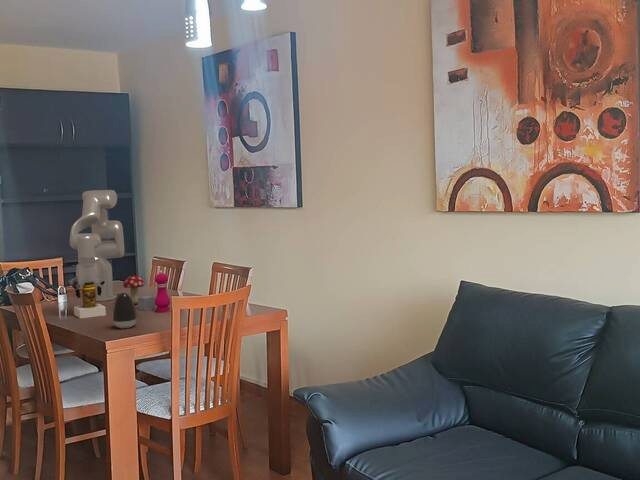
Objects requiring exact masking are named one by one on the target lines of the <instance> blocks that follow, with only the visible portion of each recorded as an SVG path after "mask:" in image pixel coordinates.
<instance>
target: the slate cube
mask: <svg viewBox="0 0 640 480" xmlns="http://www.w3.org/2000/svg"><path fill="white" fill-rule="evenodd" d="M155 299H156V297H155V296H153V295H144V296H140V297H139V296H138V304H137V306H138V307H137V308H138V310H139V311H140V310H141V311H149V310H156V308H157V307H156V305H155Z"/></svg>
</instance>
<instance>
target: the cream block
mask: <svg viewBox="0 0 640 480" xmlns="http://www.w3.org/2000/svg"><path fill="white" fill-rule="evenodd" d="M96 305H99V306H97V307H93V308H77V307H81V306H83V304H82V305H75V306H73V315H74V316H76V317H77V318H79V319H87V318H94V317H102V316H103V317H104V316H107V312H106V311H107V310H106V309H107V308H106V306H104V305H103V304H100V303H96Z"/></svg>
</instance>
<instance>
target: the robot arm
mask: <svg viewBox="0 0 640 480" xmlns="http://www.w3.org/2000/svg"><path fill="white" fill-rule="evenodd" d="M81 197H82V198H81V199H82V201H83V203H82V213H81V216H80V217H79V218H78V219H77V220H75V222H74V223H73V225H71V229H70V235H69V245H70V247H71V248H72V249H73V250H77V255H78V256H77V257H78V258H77V262H78V263H77V264H76V270H75V277H74V278H72V279H70V280H69V281H68V283H69V284H70V287H72V288H73V289H74V290H75V297H76V298H77V299H80V298H81V290H80V287H81V286H83V285H84V283H91V282H94V285H95V286H94V287H95V288H96V302H105V301H106V302H107V301H112V300H116V298H117V296H116V295H114V284H113V283H114V282H113V267H112V265H111V263H110V262H109V261H108V259H121V258H123V257H124V255H125V240H124V227H123V223H122V222H121V221H120V220H109V219H108V211H107V209H112V208H114V207H115V206H116V205H117V202H118V195H117V192H116V191H115V190H114V189H105V190H104V189H102V190H99V189H98V190H97V189H96V190H95V189H94V190H86V191H83V192H82V196H81ZM89 227H90V228H91V233H89V232H88V233H80V232H81V231H83V230H85V229H87V228H89ZM102 239H103V240H102ZM104 239H113V240H104ZM74 283H76V285H75V284H74Z"/></svg>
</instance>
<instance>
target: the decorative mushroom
mask: <svg viewBox="0 0 640 480" xmlns="http://www.w3.org/2000/svg"><path fill="white" fill-rule="evenodd" d="M144 286H145V280H144V279H143V278H142V277H140V276H138V275H130V276H127V277H126V278H125V280H124V281H123V283H122V287H124V288H126V289H130V297H131V299H132V301H133V304H134V306H135V305H138V297H139V290H138V289H139V288H141V287H142V288H143V287H144Z"/></svg>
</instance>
